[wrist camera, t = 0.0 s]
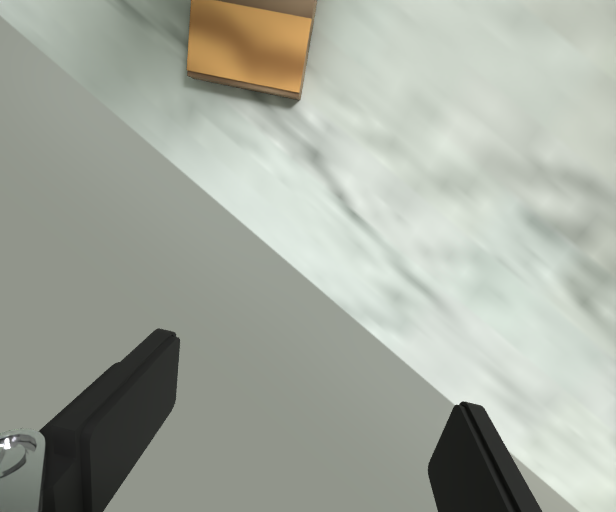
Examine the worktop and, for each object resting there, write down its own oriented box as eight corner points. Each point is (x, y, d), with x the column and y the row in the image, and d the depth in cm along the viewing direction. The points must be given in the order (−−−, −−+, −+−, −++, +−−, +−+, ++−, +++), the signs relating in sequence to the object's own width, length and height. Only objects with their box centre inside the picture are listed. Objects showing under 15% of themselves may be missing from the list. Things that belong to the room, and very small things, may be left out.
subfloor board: (203, -71, 32) (196, -83, 31) (325, -49, 32) (324, -60, 30) (193, 78, 37) (186, 74, 35) (300, 100, 36) (298, 97, 34)
